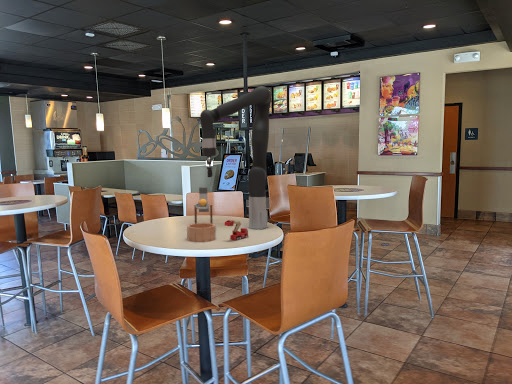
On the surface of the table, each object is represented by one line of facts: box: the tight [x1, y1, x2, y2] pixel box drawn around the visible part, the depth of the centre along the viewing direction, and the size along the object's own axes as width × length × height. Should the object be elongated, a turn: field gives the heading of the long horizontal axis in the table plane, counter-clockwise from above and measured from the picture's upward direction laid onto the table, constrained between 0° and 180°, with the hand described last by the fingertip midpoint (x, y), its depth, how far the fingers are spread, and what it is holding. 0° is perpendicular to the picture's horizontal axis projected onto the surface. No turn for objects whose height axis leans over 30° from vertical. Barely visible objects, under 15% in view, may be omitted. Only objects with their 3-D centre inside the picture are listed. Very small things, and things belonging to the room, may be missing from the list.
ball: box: [198, 199, 208, 207], centre depth 194 cm, size 4×4×4 cm
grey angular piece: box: [194, 186, 210, 213], centre depth 195 cm, size 18×6×13 cm, turn 4°
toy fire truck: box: [224, 219, 249, 241], centre depth 181 cm, size 3×14×10 cm, turn 141°
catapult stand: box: [193, 204, 214, 224], centre depth 198 cm, size 14×12×14 cm
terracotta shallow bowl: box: [186, 222, 217, 243], centre depth 182 cm, size 13×13×6 cm
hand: (210, 176), depth 212 cm, fingers open, 8 cm apart
